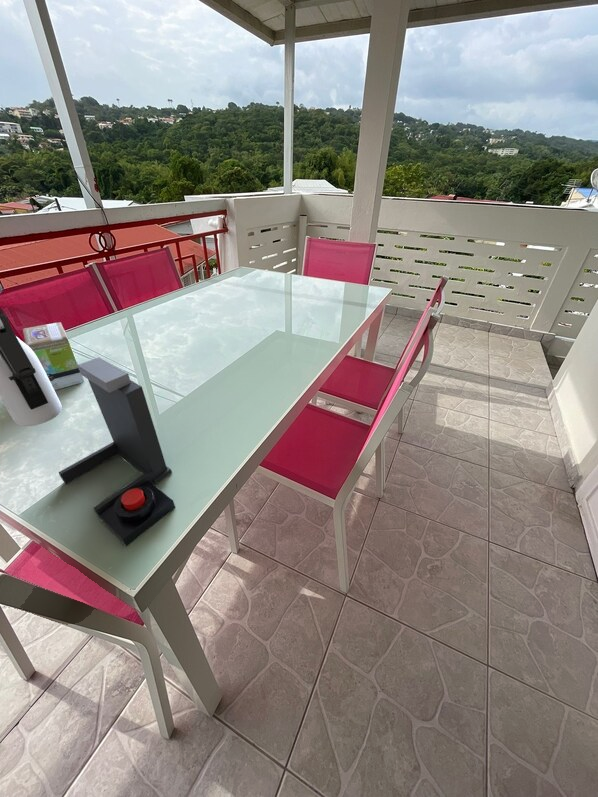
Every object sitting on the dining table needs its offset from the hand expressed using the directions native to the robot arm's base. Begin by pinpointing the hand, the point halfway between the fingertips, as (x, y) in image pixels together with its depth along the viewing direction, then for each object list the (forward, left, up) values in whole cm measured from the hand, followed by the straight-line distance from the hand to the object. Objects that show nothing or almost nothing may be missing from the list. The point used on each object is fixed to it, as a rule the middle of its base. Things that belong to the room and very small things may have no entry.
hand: (29, 397), depth 61 cm
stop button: (+2, -24, -15) cm, 28 cm away
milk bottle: (0, 0, -4) cm, 4 cm away
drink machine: (+5, -12, -18) cm, 22 cm away
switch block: (+2, -24, -18) cm, 30 cm away
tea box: (+16, +40, -18) cm, 47 cm away
